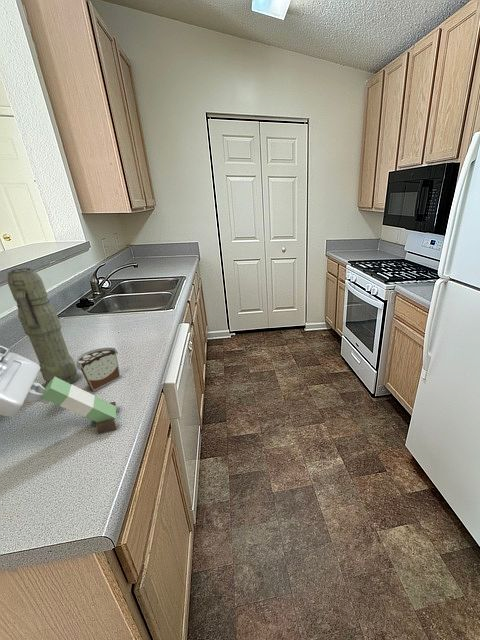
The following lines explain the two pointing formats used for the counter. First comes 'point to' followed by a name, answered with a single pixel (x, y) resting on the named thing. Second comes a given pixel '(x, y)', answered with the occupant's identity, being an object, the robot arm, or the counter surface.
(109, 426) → the stand
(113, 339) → the counter surface
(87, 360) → the cake slice
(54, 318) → the moai statue
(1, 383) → the robot arm
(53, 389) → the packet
